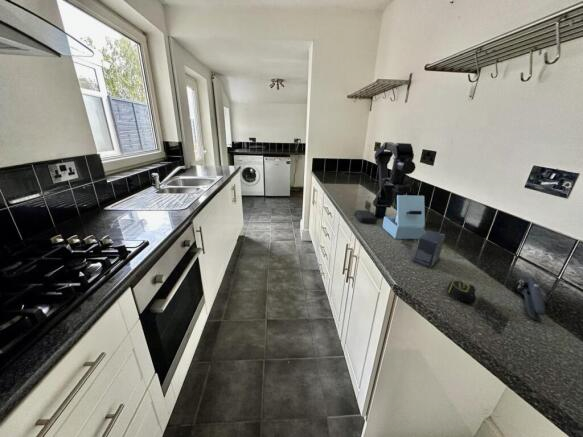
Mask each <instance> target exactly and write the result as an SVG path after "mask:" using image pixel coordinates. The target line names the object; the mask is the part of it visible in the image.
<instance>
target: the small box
mask: <svg viewBox="0 0 583 437" xmlns="http://www.w3.org/2000/svg"><path fill="white" fill-rule="evenodd" d="M445 239H446V234H444V233H442V232H438V231H434V230H429V229H427V231H426V232H425V233H422V236H421V237H420V238H419V239H418V243H417V246H416V251H415V254H414V258H413V262H414V263H417V264H419V265H421V266H424V267H426V268H430V269H431V268H433V266H434V265H435V264H436V263H437V261H438V260H439V259H440V255H441V252H442V248H443V246H444V242H445Z"/></svg>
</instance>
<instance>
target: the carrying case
mask: <svg viewBox="0 0 583 437" xmlns="http://www.w3.org/2000/svg"><path fill="white" fill-rule="evenodd" d="M353 213H354V215H355V217H356V218H357V219H358V221H359V222H360V223H363V224H376V223H377V222H378V218H376V217H375V216H374V214H373V212H372V211H370V210H364V209H362V210H361V209H356V210H355V211H354V212H353Z"/></svg>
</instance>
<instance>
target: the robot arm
mask: <svg viewBox="0 0 583 437" xmlns="http://www.w3.org/2000/svg"><path fill="white" fill-rule="evenodd" d="M373 156H374V161H375V164H376V166H377V167H378V192H377V193H376V195H375V198H374V199H373V200H372V205H373V206H374V207H375V209H374V213H373V212H372V213H373V214H374V216H375V217H376V219H384V217H387V215H386V214H387V208H388V209H391V208H392V204H393V202H394V204H395V205H397V195H405V194H409V193H411V191H412V186H413V184H414V183H415V179H413V178H411V177H409V175H411V174H413V173H414V172H415V171H416V167H417V166H416V164H415V162H414V161H413V160H414V157H415V153H414V149H413V145H412V143H407V142H405V143H404V142H396V143H395V142H389V141H384V142H383V144H382V145H381V146H379V147H378V148H377V149H376V150H375V153H374V155H373ZM392 157H393V159H392ZM391 159H392V160H393V162H392V168H391V171H388V170H389V168H388V166H389V163H390V161H391ZM389 174H390V177H389ZM393 188H394V189H393ZM392 189H393V191H392ZM393 196H394V198H393Z"/></svg>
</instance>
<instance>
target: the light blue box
mask: <svg viewBox="0 0 583 437" xmlns="http://www.w3.org/2000/svg"><path fill="white" fill-rule="evenodd" d="M395 221H396V216H386V217H384V218H383V222H382V228H383V229H384V230H385V231H386V232H387V233H388V234H389V235H390V236H392V237H393V239H395V240H419V238H420V237H421V236H422V235H423V234H424V228H425V227H407V226H406V227H398V226H397V225H396V224H395Z"/></svg>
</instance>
